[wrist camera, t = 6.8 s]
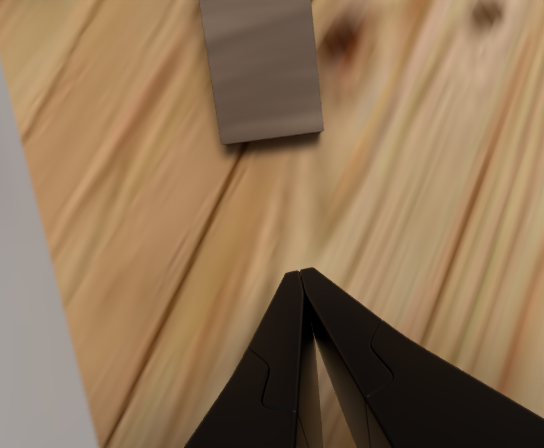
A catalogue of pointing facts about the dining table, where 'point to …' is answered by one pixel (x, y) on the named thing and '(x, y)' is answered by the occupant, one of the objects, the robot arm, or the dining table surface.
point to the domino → (262, 68)
